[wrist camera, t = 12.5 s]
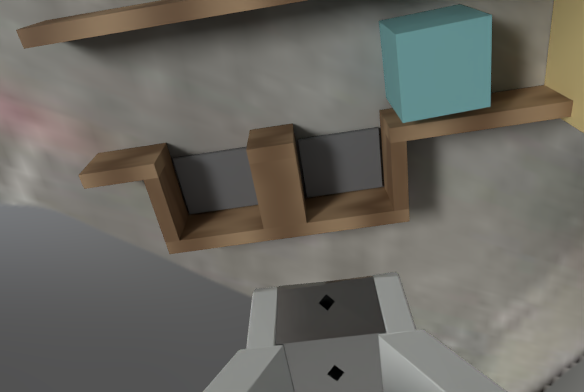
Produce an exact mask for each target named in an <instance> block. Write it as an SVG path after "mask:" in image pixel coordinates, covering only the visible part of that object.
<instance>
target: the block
mask: <svg viewBox="0 0 584 392" xmlns="http://www.w3.org/2000/svg"><path fill="white" fill-rule="evenodd" d="M379 27H380V37H381V48H382V58H383V68H384V78H385V89H386V98H387V100H388V101H389V103H390V104H391V106H392V107H393V109H394V110H395V112H396V113H397V115H398V117H399V118H400V120H401V121H402V123H406V122H411V121H417V120H422V119H427V118H433V117H438V116H443V115H449V114H454V113H460V112H465V111H470V110H476V109H481V108H486V107H490V106H491V45H492V15H491V14H488V13H485V12H482V11H479V10H476V9H473V8H470V7H467V6H464V5H461V4H458V5H453V6H449V7H444V8H439V9H434V10H429V11H424V12H420V13H415V14H410V15H405V16H400V17H395V18H391V19H386V20H381V21H379Z"/></svg>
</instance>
